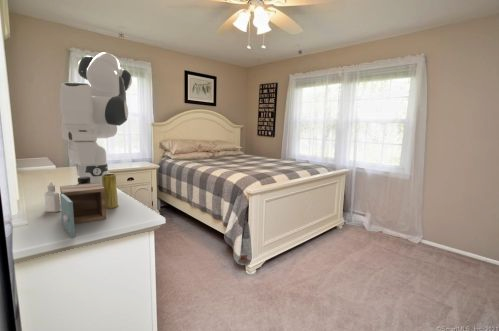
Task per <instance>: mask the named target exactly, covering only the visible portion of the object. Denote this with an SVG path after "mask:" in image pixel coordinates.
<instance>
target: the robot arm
mask: <svg viewBox="0 0 499 331" xmlns="http://www.w3.org/2000/svg"><path fill="white" fill-rule="evenodd" d="M77 71H78V72H77V73H78V75H79V76H80V77H81V78H83V79H84V80H86V81H88V83H87V82H82V81H81V82H80V81H64V82H63V83H61V85H60V90H59V91H60V92H59V95H60V96H59V108H60V112H61V116H62V120H61V122H60V123H61V137H62V140H66V141H67V155H68V159H69V160H70V161H72V162H74V163H75V168H76V175H77V176H78V178H79V177H90V180H91V181H90V182H91V183H100V184H101V185H102V175H103V174H111V173H110V172H109V171H108V170H109V167H108V163H107V151H106V149H105V148H104V147H103V146H100V145H99V144H98V143H97V140H98V139H108V138H112V137H115V136H116V134H117V133H118V126H122V125H123V124H124V123H126V122H127V120H128V118H129V109H128V108H129V106H128V105H127V92H126V91H128V89H130V88H131V86H132V83H133V77H132V74H131V72H130V71H129V70H127V69H126V68H122V67H120V62H119V59H118V58H117V57H116V56H115V55H113V54H112V53H109V52H100V53H98V54H97V55H95V57H94V56H91V55H83V56H82V57H81V58H80V59H79V61H78V63H77ZM102 186H103V185H102Z"/></svg>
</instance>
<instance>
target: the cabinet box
mask: <svg viewBox="0 0 499 331" xmlns="http://www.w3.org/2000/svg"><path fill="white" fill-rule="evenodd" d="M77 184H78V183H77ZM77 184H70V185H68V184H67V185H60V186H59V188H60V194H64V195H65V196H67V197H68V198H69V199H70V200H71V201H72V202H73V214H74V225H79V224H83V223H89V222H95V221H100V220H106V219H107V209H106V206H105V188H104V187H103V186H102V185H101V184H100V183H89V184H78V185H77Z"/></svg>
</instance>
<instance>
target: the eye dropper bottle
mask: <svg viewBox="0 0 499 331" xmlns="http://www.w3.org/2000/svg"><path fill="white" fill-rule="evenodd" d="M44 202H45V203H44V205H45V211H46V212H48V213H57V212H61V201H60V193H59V191H57V190H56V185H54V184H53V182H51V181H49V185H47V191H46V192H45V193H44Z"/></svg>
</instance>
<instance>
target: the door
mask: <svg viewBox="0 0 499 331" xmlns="http://www.w3.org/2000/svg"><path fill="white" fill-rule="evenodd" d="M59 199H60V212H61V225H62V227H63V229H64V230H66V232H67V234H68V235H69V236H70V237H71V238H74V237H76V233H75V232H76V231H75V230H76V229H75V224H74V214H73V202H72V201H71V200H70V199H69V198H68V197H67V196H65V195H64V194H61V193H59Z"/></svg>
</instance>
